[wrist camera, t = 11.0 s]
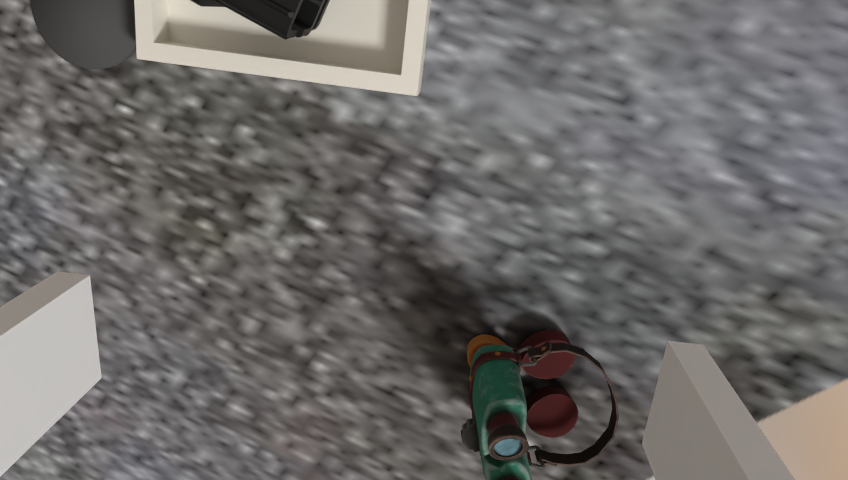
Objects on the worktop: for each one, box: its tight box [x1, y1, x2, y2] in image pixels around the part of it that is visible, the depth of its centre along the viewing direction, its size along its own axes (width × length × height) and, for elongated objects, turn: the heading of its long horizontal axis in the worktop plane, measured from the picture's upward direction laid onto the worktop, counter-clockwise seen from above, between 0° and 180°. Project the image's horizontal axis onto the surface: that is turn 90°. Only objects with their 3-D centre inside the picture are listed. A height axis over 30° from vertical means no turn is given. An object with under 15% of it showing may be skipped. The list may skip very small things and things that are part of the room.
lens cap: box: [31, 0, 136, 69], centre depth 37 cm, size 6×6×1 cm
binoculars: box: [461, 329, 619, 480], centre depth 38 cm, size 9×11×10 cm
